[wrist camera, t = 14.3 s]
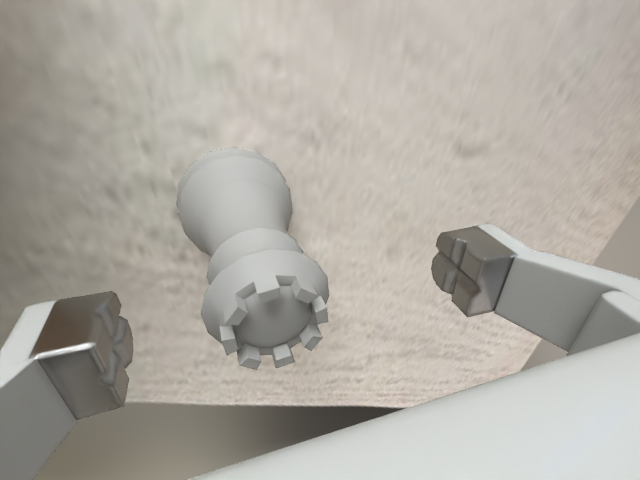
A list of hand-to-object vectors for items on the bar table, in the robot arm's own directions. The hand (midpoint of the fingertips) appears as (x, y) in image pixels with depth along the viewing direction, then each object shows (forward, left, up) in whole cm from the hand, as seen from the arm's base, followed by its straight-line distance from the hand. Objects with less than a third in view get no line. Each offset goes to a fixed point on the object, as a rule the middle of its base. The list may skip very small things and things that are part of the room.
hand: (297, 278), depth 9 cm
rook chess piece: (+1, +1, -7) cm, 7 cm away
